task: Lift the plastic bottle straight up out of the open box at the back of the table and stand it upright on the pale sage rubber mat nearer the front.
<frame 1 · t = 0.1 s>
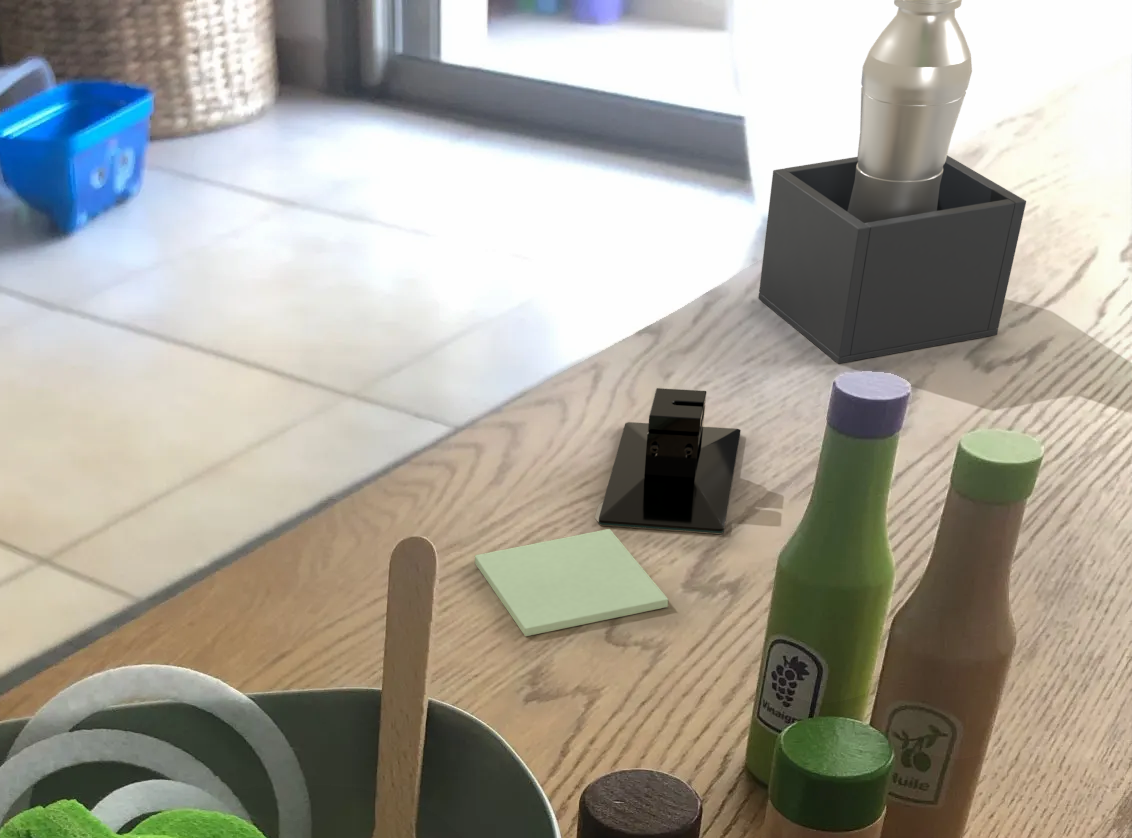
mat: (568, 584, 88), on the table
black piece: (671, 480, 96), on the table
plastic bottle: (874, 312, 110), resting on open box
open box: (874, 316, 110), on the table
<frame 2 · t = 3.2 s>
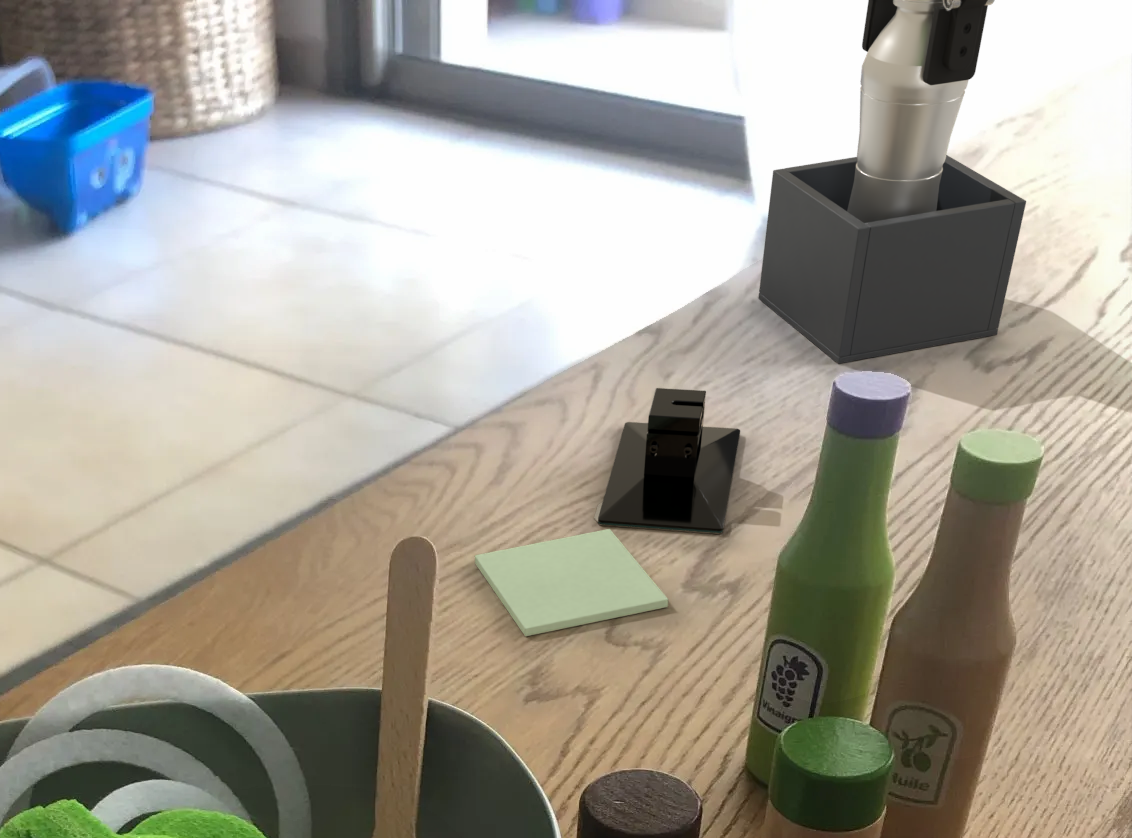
hand: (916, 61, 100), 15 cm above the table, tool pointing down, fingers closed on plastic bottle, 6 cm apart
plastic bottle: (874, 312, 110), resting on open box, touching gripper
everything else where it was.
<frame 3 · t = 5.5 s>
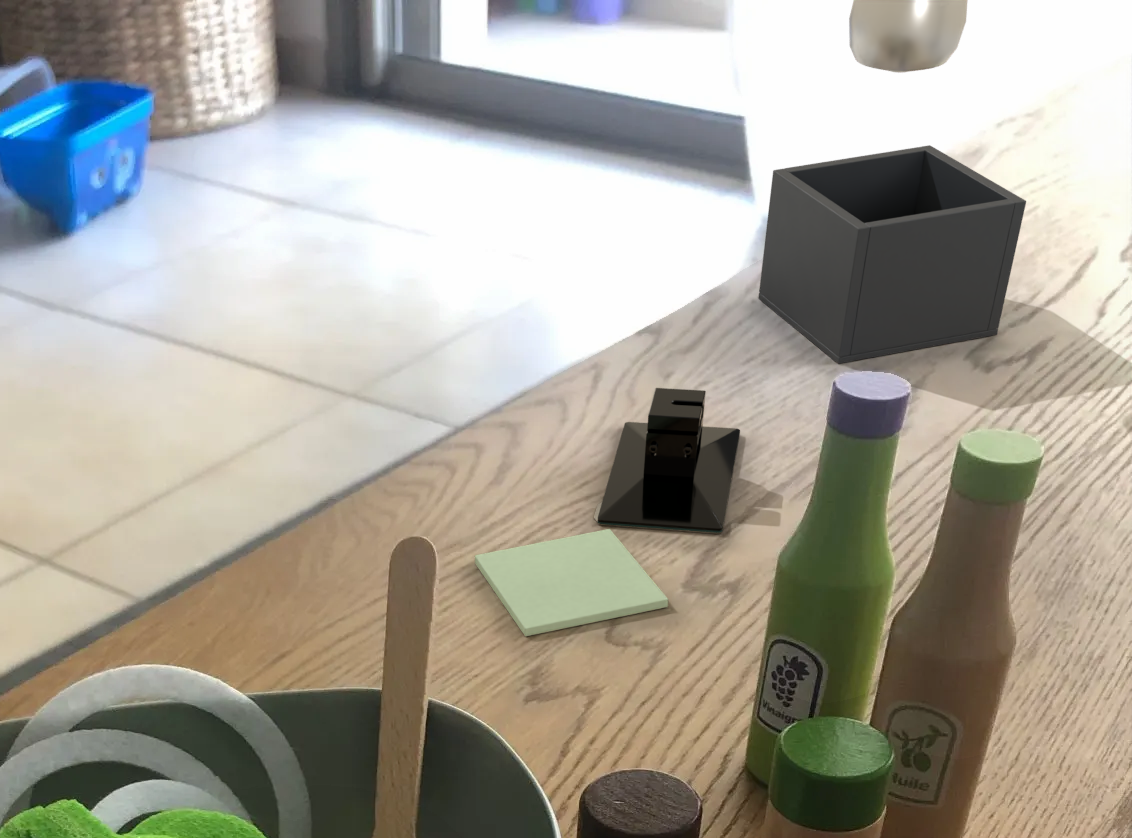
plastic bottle: (899, 72, 97), point 16 cm above the table, touching gripper
everything else where it was.
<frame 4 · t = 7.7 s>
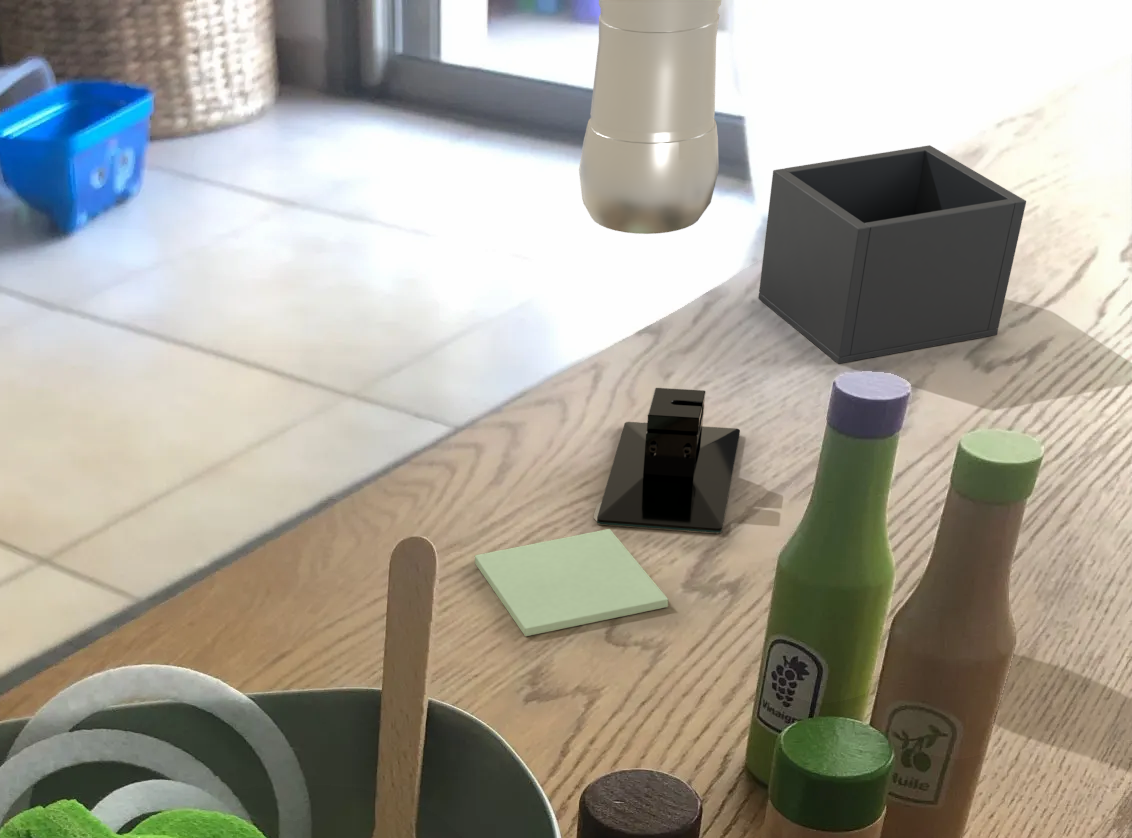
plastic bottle: (644, 230, 80), point 16 cm above the table, touching gripper
everything else where it was.
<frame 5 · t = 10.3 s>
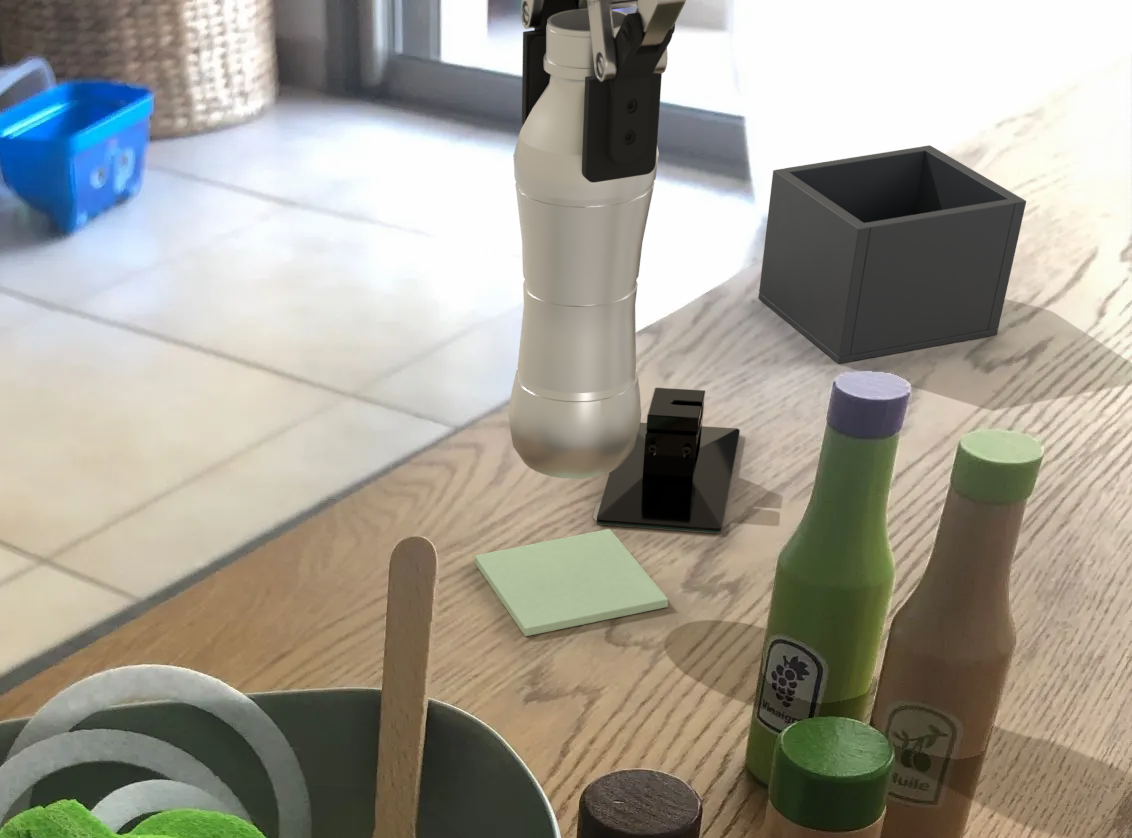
hand: (586, 146, 72), 22 cm above the table, tool pointing down, fingers closed on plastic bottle, 6 cm apart
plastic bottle: (572, 468, 83), point 7 cm above the table, touching gripper
everything else where it was.
when the fingers open (16 cm above the table, at t = 12.4 s): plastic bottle stays where it is, resting on mat.
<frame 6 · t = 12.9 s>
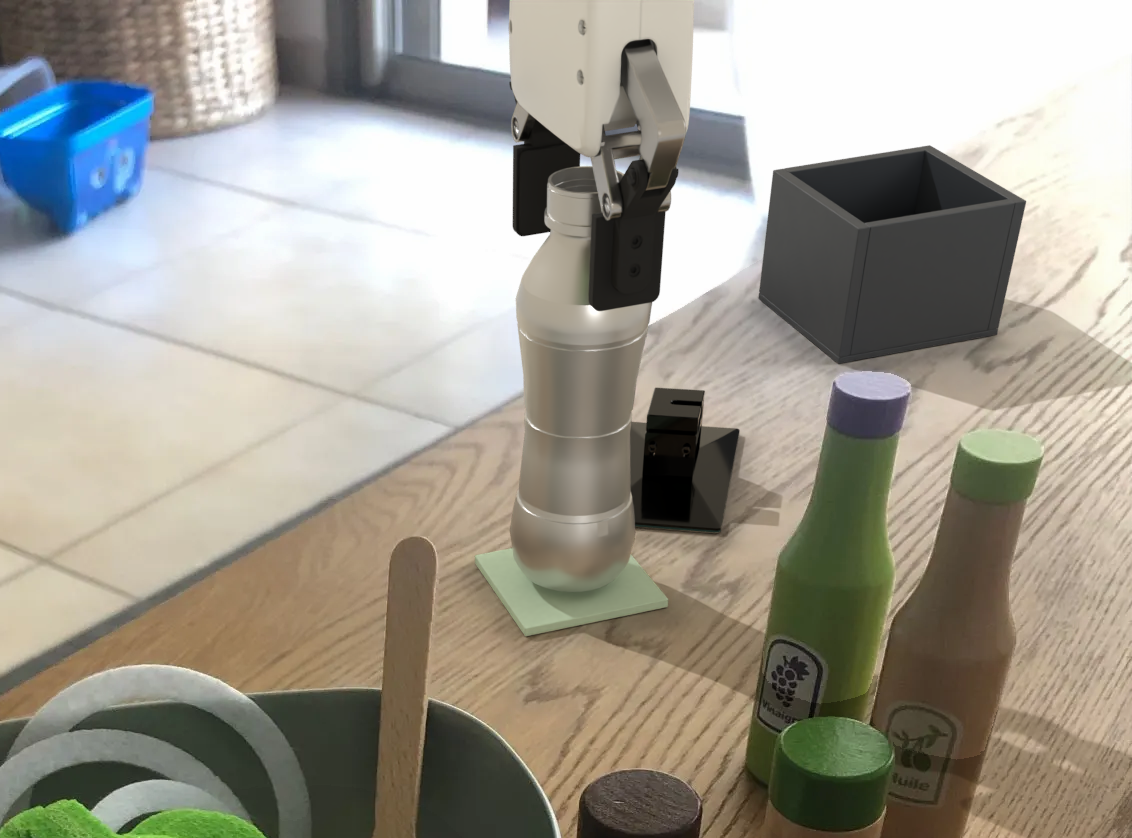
hand: (582, 265, 76), 17 cm above the table, tool pointing down, fingers open, 9 cm apart
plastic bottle: (570, 579, 87), resting on mat
everything else where it was.
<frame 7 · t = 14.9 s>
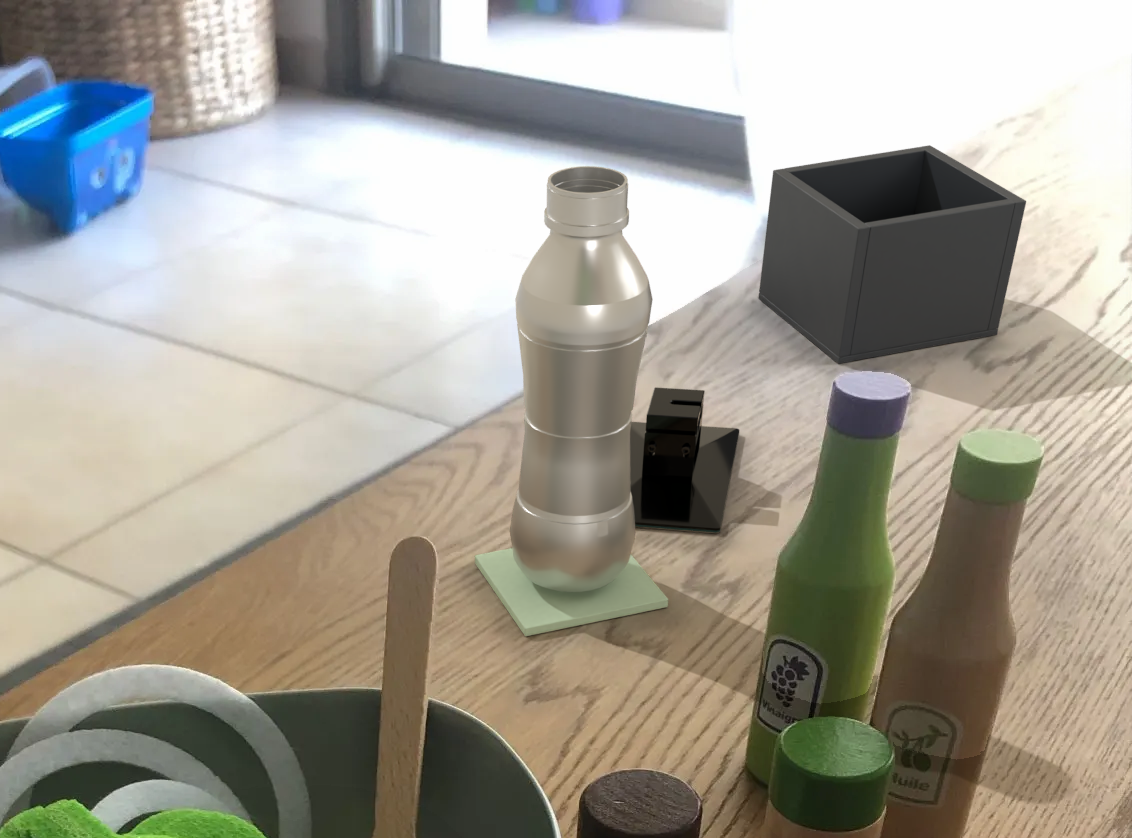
nothing on the table moved.
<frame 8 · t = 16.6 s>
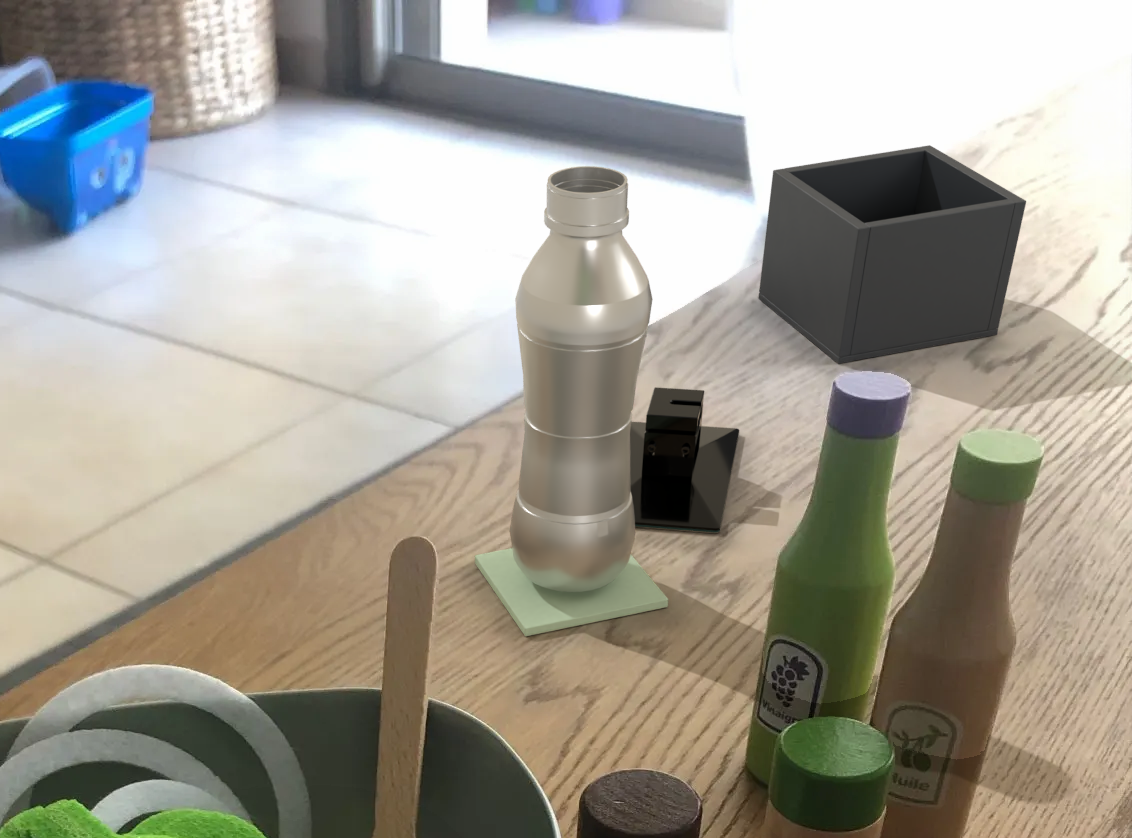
nothing on the table moved.
at the end: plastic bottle inside the target area on the mat (0.1 cm from its centre), point 0.3 cm above the mat's base; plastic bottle tilted 0°; the gripper is holding nothing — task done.
